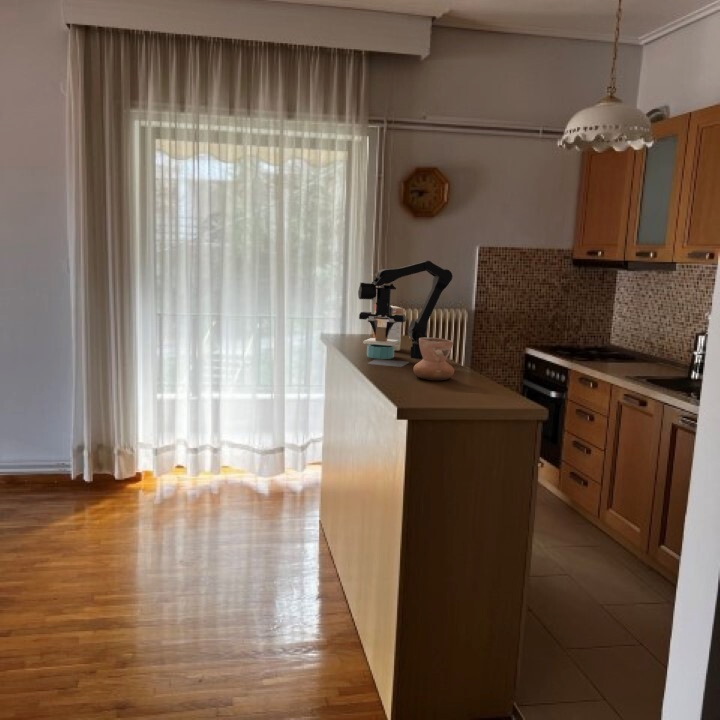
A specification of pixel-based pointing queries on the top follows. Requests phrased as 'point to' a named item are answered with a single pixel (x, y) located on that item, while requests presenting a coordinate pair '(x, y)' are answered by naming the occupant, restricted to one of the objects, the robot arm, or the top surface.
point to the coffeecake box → (396, 328)
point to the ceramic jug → (434, 359)
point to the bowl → (380, 351)
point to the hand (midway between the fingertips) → (381, 337)
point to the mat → (388, 362)
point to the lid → (381, 338)
